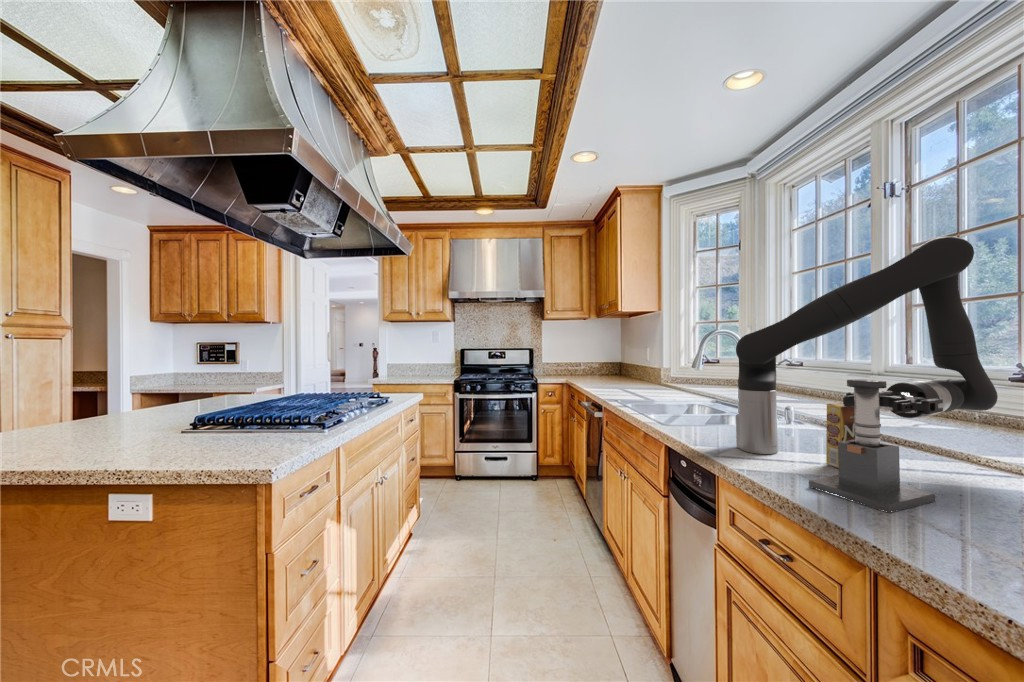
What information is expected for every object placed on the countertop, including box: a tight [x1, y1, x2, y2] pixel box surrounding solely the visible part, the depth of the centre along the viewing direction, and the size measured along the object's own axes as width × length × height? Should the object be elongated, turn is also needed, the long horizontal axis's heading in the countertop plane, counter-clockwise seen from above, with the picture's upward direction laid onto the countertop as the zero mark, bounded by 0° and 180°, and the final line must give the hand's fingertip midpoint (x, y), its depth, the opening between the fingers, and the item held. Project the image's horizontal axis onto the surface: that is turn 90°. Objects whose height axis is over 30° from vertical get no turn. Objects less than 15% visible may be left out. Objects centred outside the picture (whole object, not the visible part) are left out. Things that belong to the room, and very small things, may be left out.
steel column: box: [846, 378, 887, 448], centre depth 82 cm, size 6×6×21 cm
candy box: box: [825, 403, 855, 469], centre depth 99 cm, size 9×4×15 cm, turn 98°
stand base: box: [808, 440, 936, 513], centre depth 82 cm, size 14×14×10 cm
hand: (869, 404), depth 82 cm, fingers open, 8 cm apart
